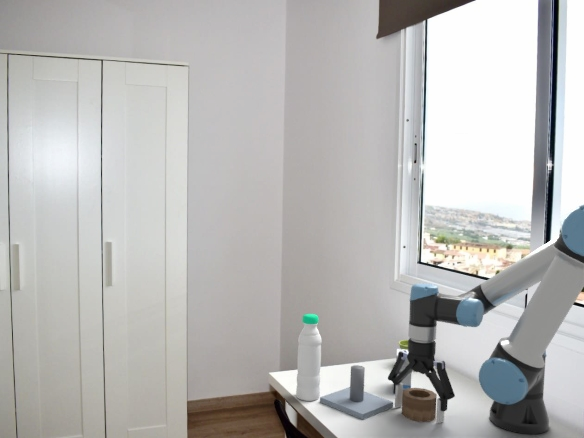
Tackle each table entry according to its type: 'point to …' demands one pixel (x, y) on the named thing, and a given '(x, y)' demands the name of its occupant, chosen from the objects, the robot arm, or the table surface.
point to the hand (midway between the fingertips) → (418, 413)
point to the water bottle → (309, 360)
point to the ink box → (407, 379)
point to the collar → (419, 404)
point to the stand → (356, 397)
